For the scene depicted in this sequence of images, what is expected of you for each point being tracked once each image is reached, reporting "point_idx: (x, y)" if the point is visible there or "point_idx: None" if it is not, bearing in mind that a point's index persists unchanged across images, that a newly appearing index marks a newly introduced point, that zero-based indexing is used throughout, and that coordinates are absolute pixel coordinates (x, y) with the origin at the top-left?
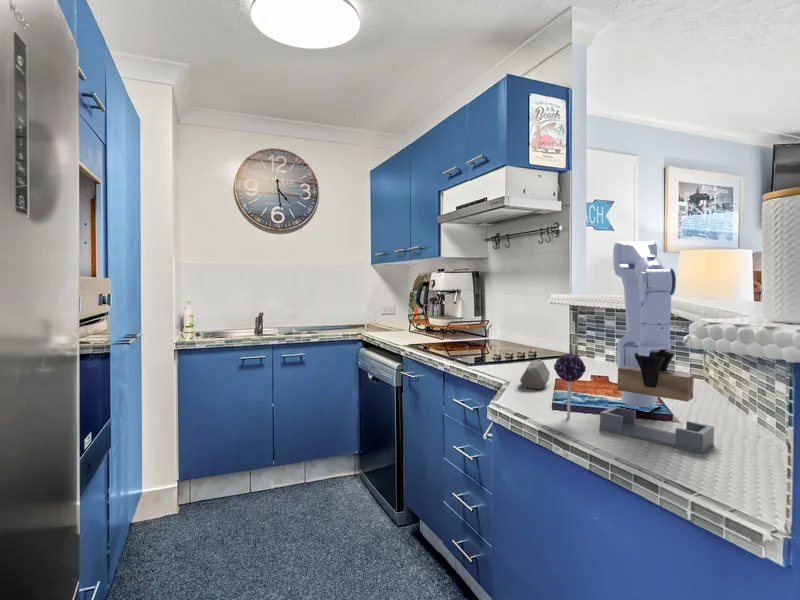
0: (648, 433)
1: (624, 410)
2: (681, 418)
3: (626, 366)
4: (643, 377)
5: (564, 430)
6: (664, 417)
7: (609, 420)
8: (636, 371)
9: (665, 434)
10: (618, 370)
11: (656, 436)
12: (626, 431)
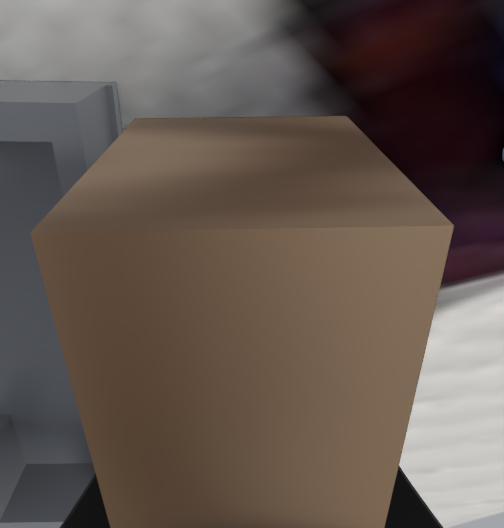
0: (25, 313)
1: (66, 191)
2: (497, 309)
3: (439, 264)
4: (80, 502)
5: None
6: (465, 249)
7: None
8: (103, 485)
9: None
10: (50, 223)
11: (16, 347)
12: None
